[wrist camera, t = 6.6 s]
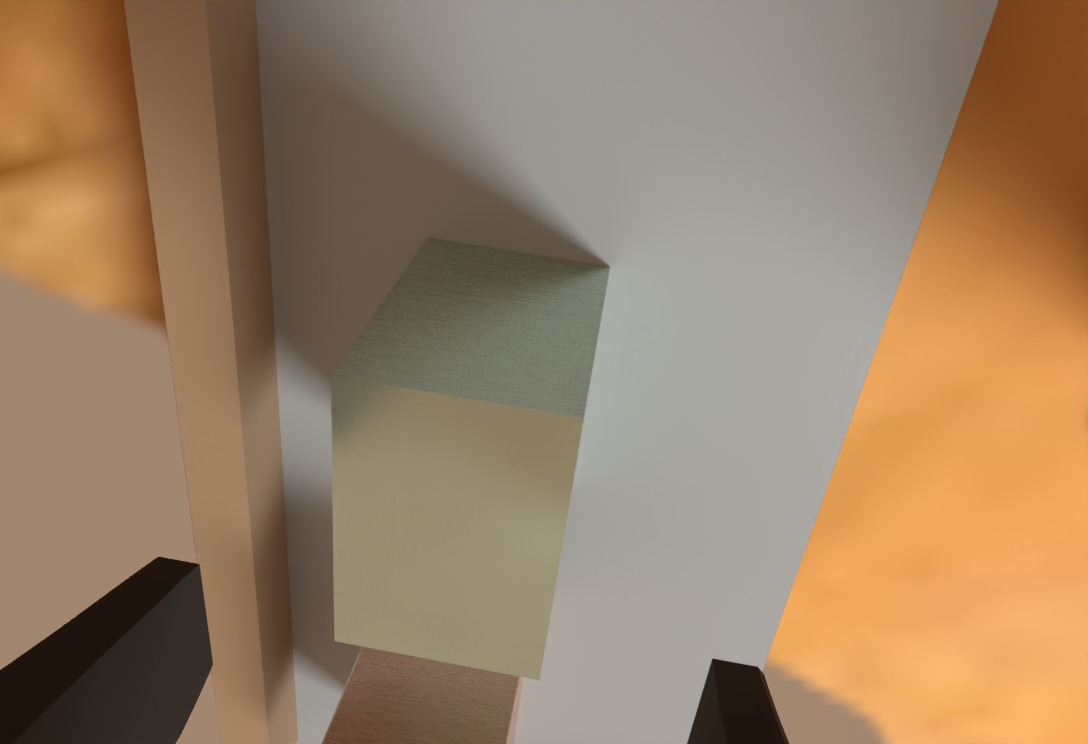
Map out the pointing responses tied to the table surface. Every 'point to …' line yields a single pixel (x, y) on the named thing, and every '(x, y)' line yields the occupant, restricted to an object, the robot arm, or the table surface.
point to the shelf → (553, 231)
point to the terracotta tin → (423, 703)
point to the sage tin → (461, 454)
